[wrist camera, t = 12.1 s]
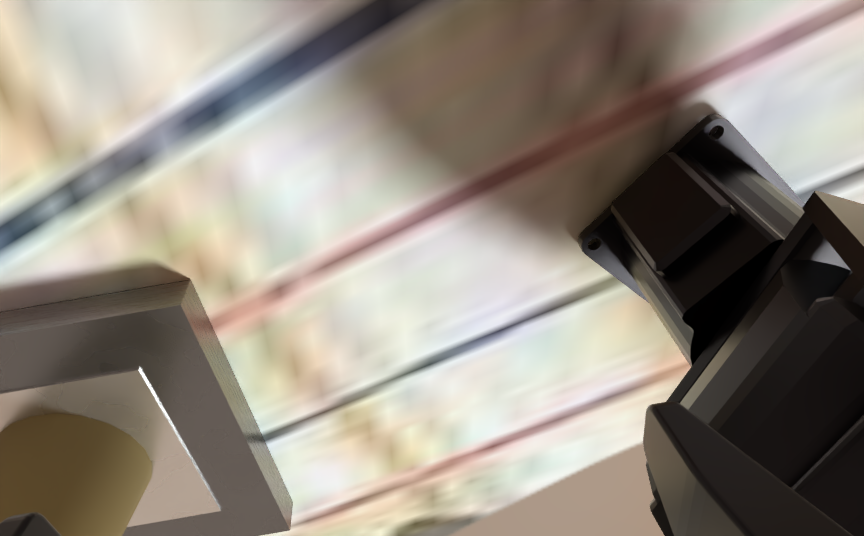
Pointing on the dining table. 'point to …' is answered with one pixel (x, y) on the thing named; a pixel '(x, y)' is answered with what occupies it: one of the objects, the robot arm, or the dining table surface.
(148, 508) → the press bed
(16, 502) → the cork
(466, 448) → the dining table surface
